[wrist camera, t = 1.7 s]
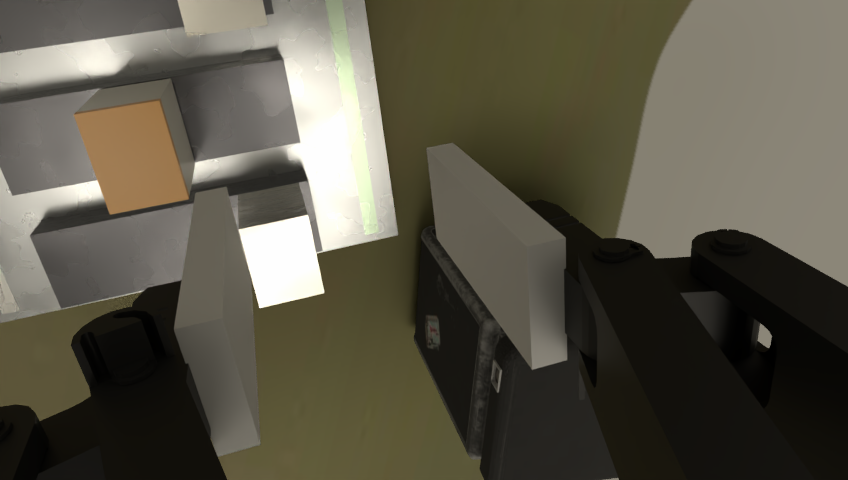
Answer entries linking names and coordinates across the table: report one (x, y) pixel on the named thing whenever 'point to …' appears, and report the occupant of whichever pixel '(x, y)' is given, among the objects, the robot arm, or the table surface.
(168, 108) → the block
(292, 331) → the table surface
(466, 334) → the camera
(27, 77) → the panel
